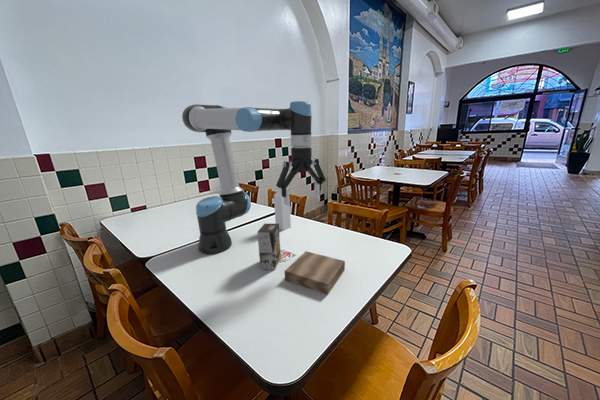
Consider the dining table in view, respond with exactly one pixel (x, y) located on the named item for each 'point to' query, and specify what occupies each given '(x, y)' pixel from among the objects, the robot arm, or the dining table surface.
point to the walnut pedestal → (315, 271)
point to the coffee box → (269, 246)
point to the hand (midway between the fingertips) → (302, 202)
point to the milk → (281, 211)
